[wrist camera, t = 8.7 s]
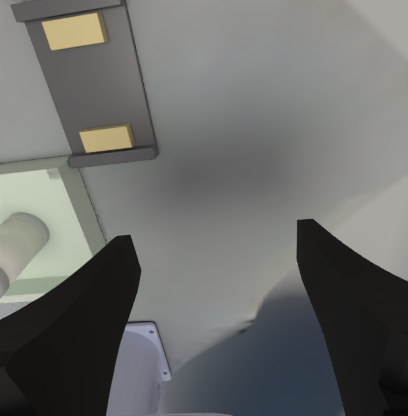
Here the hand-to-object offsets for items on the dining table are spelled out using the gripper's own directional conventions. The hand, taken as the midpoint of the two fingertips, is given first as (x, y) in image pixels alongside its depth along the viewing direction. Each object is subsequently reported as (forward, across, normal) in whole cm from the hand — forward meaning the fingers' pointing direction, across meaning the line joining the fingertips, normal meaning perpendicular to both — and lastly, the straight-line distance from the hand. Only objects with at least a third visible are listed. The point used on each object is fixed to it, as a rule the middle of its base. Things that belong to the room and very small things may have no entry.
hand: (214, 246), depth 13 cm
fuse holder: (+10, +7, -6) cm, 14 cm away
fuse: (+9, +16, +4) cm, 19 cm away
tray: (+10, +16, +4) cm, 19 cm away
